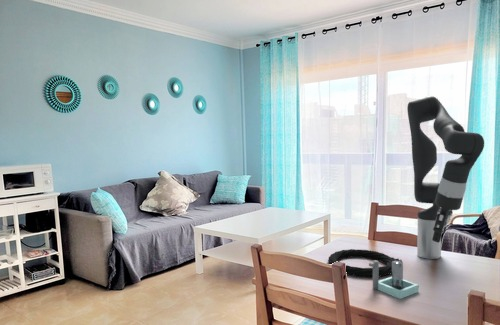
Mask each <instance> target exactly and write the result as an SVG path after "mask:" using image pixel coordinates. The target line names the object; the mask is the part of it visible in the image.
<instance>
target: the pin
mask: <svg viewBox="0 0 500 325" xmlns="http://www.w3.org/2000/svg"><path fill="white" fill-rule="evenodd" d="M391 277H392V285H390V286H391V287H393V288H396V289H398V290H401V289H404V288H403V279H404V263H403V261H402V262H400V261H392V273H391Z"/></svg>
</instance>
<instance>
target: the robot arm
mask: <svg viewBox="0 0 500 325" xmlns="http://www.w3.org/2000/svg"><path fill="white" fill-rule="evenodd" d="M406 109H407V117H408V123H409V124H408V125H409V129H410V136H411V139H410V140H411V156H412V157H411V158H412V165H413V167H412V168H413V175H414V176H413V179H414V180H413V181H414V182H413V183H414V184H413V188H414V189H413V190H414V192H413V193H414V194H413V195H414V199H415V201H416V202H417V203H422V204H432V206H430V207H429V208H424V209H421V210H419V211H418V212H417V247H416V248H417V249H416V250H417V252H416V253H417V257H420V258H423V259H428V260H437V259H440V258H441V256H442V235H443V234H445V233H446V230H447V227H448V224H449V223H450V221H451V218H452V216H453V213H454V211H458V210H460V209H461V208H462V204H463V200H464V196H465V193H466V189H467V183H468V179H469V175H470V172H471V170H472V169H473V167H474V166H475V163H476V161H477V160H478V159H479V157H480V156H481V154H482V153H483V150H484V148H485V140H484V137H483V136H482V135H481V133H479V132H470V131H468V132H467V131H465V129H464V127H463V126H462V125H461V124H460V123H459V122H458V121H456V119H455V118H453V117H452V116H451V115H450V114H449V112H448V110H446V108H445V107H444V105H443V104H442V102H441V101H440V99H438V98H437V97H436V96H433V95H429V96H424V97H421V98H417V99H413V100H410V101H409V102H408V103H407V108H406ZM433 120H434V122H433V130H434V133H435V134H436V135H437V136H438V137H439V138H440V139H441V141H442V142H443V146H444V150H445V151H446V152H448V153H449V154H451V155H452V154H453V155H460V156H459V158H456V159H451V160H447V161H446V162H445V165H444V168H443V172H442V176H441V179H440V182H439V183H438V182H427V181H426V182H424V179H425V177H426V176H427V175H428V174H429V173H430V172H431V171H432V170H433V168H434V167H435V166H436V164H437V160H438V158H437V157H438V156H437V154H438V153H437V150H438V149H437V146H436V144H435V143H434V141H433V140H432V139H431V138H429V137H428V136H427V135H426V134H425V133H424V132H423V130H422V128H421V124H422V123H426V122H430V121H433Z"/></svg>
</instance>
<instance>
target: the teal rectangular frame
mask: <svg viewBox="0 0 500 325" xmlns="http://www.w3.org/2000/svg"><path fill="white" fill-rule="evenodd" d="M368 266H369V267H370V268H373V277H372V290H374V291H380V292H382V293H385V294H388V295H390V296H391V297H394V298H397V299H400V300H401V299H403V298H406V297H409V296H412V295H415V294H417V293H419V284H417V283H415V282H412V281H409V280H405V279H404V278H403V288H404V289H401V290H398V289H396V288H393V287H391V286H392V276H389V277H387V278H383V279H381V280H379V279H380V278H379V277H380V276H379V267H380V262H379V260H375V259H373V260H372V262H368Z"/></svg>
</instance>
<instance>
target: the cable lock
mask: <svg viewBox="0 0 500 325" xmlns="http://www.w3.org/2000/svg"><path fill="white" fill-rule="evenodd" d="M363 257H364V258H363ZM348 258H363V259H371V260H376V261H380V262H381V263H384V264H385V265H383V266H379V277H385V276H387V275H392V261H400V262H403V260H402V259H399V258H395V257H391V256H389V255H387V254H385V253H383V252H379V251H376V250H369V249H356V248H355V249H354V248H351V249H349V248H348V249H342V250H338V251H335V252H333V253H331V254H330V256H328V258H327V263H328V265H329V264H332V263H334V262H336V261H339V260H343V259H348ZM345 265H346V264H345ZM346 272H347V275H346V276H354V277H359V278H373V267H359V266H351V265H348V264H347V265H346Z"/></svg>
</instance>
